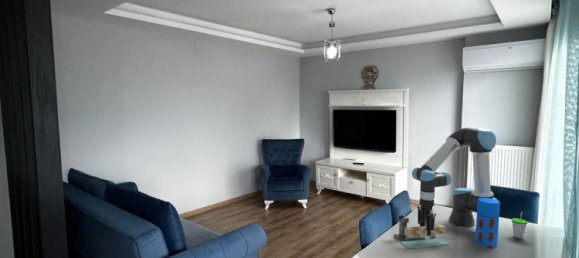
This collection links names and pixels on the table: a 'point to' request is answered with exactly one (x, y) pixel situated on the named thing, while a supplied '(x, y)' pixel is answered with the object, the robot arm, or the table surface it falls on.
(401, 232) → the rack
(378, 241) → the table surface
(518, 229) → the cup
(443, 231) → the rail
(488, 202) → the thermos
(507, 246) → the table surface
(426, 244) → the mat
